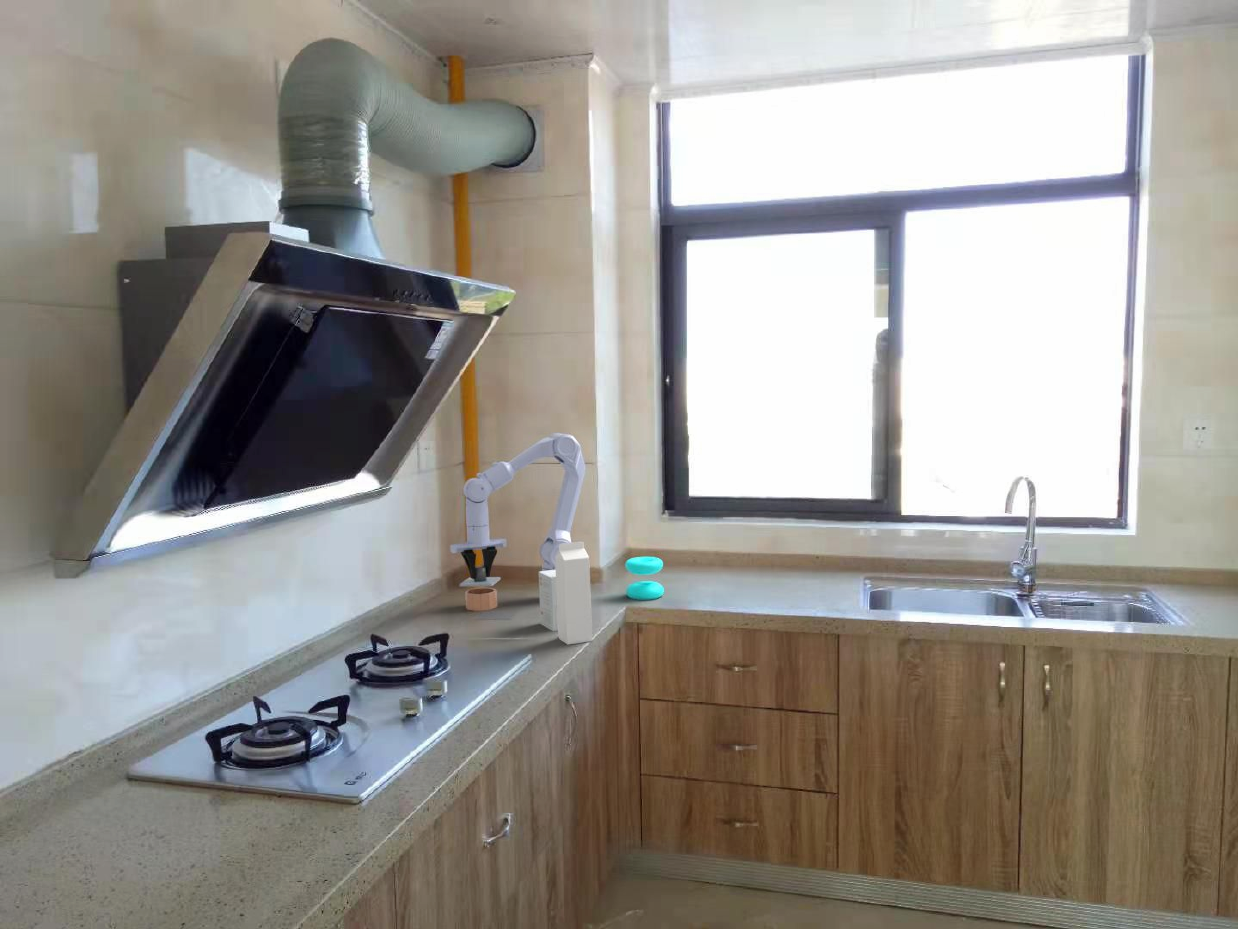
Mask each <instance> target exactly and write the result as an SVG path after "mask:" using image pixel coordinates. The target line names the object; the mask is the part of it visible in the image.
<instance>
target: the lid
mask: <svg viewBox="0 0 1238 929" xmlns="http://www.w3.org/2000/svg"><path fill="white" fill-rule="evenodd" d="M475 569H476V579H472V578H471V577H470V576H469V577H468V578H466V579H465V580H464V581H462V582H460V583H459V587H493V586H494V585H495V584H497V583H499V581H501V579H502V578H501V576H490V577H486V566H484V565H477V566H476V565H475Z"/></svg>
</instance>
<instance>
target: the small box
mask: <svg viewBox="0 0 1238 929" xmlns="http://www.w3.org/2000/svg"><path fill="white" fill-rule="evenodd" d="M538 591H539V595H538V596H539V601H540V602H539V612H540V614H539V616H540V617H539V619H540V621H539V622H540V625H542V626H543V627H545V628H547V629H549V630H550V631H552V632H554V631H555V632H556V631H558V618H557V593H556V570H548V571H542V570H541V571H538Z"/></svg>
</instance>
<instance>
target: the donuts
mask: <svg viewBox="0 0 1238 929" xmlns="http://www.w3.org/2000/svg"><path fill="white" fill-rule="evenodd" d="M624 566H625V569H626V570H627V571H628V573H631V574H633V575H638V576H641V575H642V576H645V575H646V576H647V575H653V574H657V573H658V572H660V571H661V570H662V569H663V566H664V562H663V560H662V559H660V558H658V557H655V556H637V557H631V558H629V559H628V560H626V562H625V565H624ZM625 591H626V592H625V593H626V596H628V597H629V598H630V599H633V600H639V601H641V600H643V601H645V600H646V601H648V600H655V599H658V598H660V597H662V596H663V594H664V593H665V589H664V587H663V585H661V583H658V582H656V581H651V580H648V581H647V580H644V581H643V580H642V581H641V580H640V581H636V582H633V583H631V584H629V585H628V586H627V588H626V590H625Z"/></svg>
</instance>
